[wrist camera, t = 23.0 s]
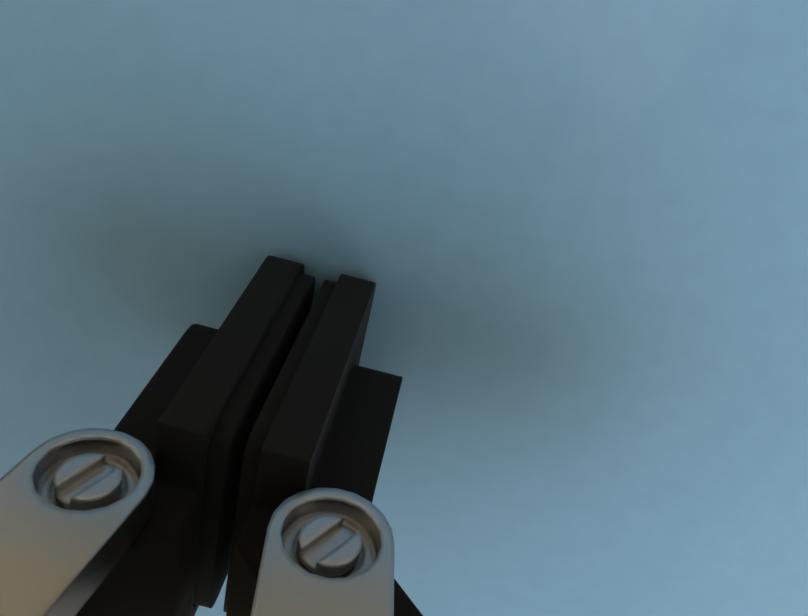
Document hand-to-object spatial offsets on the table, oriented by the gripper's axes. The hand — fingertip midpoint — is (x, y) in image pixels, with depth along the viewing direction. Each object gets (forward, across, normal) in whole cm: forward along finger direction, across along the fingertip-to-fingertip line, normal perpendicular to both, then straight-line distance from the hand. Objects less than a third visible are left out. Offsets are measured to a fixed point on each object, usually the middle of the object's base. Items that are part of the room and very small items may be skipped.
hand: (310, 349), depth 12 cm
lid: (+1, -2, 0) cm, 2 cm away
